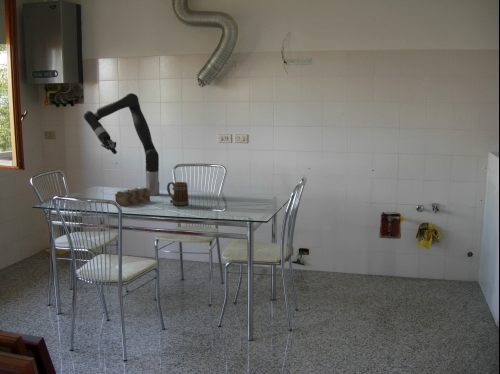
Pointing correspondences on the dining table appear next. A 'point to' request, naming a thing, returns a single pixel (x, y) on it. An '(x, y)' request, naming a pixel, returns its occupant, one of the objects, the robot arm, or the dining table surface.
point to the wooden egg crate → (132, 197)
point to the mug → (179, 194)
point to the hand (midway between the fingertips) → (115, 153)
